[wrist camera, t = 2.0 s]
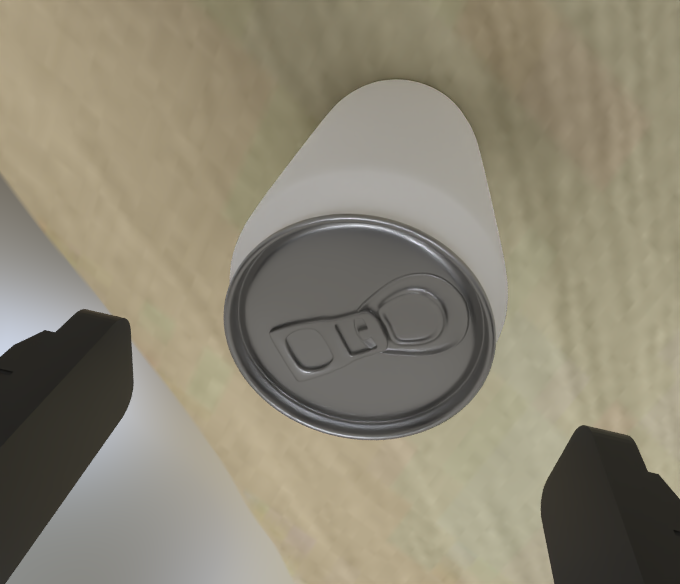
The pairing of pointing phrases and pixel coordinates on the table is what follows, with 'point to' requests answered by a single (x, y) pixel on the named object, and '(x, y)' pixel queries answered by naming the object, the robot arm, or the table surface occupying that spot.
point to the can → (372, 270)
